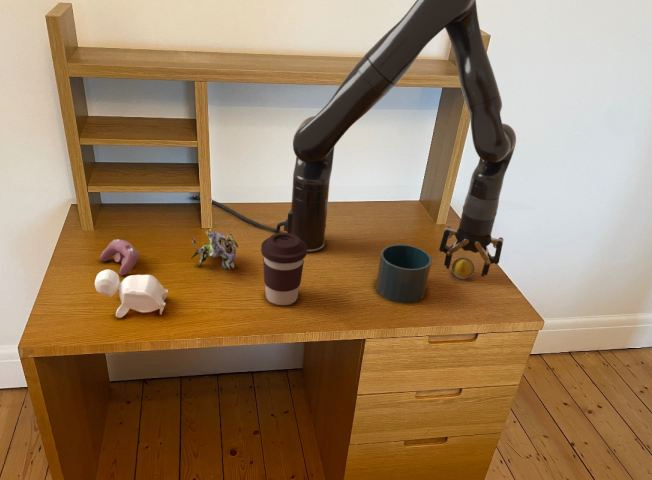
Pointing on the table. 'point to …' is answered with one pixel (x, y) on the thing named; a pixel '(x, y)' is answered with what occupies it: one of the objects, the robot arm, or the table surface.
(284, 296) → the coffee cup
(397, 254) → the pen pot
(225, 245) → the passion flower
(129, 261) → the video game controller
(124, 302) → the white turtle figurine
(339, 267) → the table surface
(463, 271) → the spiral grooved cone
